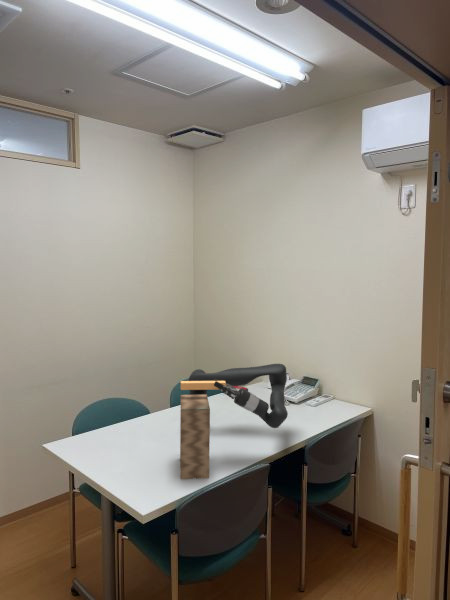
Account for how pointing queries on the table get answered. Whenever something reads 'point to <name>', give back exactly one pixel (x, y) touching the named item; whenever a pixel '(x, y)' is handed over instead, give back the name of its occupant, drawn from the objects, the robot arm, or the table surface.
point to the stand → (194, 436)
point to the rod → (200, 385)
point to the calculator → (239, 388)
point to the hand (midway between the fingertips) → (214, 382)
